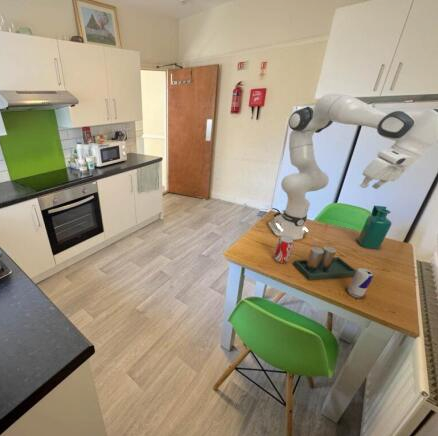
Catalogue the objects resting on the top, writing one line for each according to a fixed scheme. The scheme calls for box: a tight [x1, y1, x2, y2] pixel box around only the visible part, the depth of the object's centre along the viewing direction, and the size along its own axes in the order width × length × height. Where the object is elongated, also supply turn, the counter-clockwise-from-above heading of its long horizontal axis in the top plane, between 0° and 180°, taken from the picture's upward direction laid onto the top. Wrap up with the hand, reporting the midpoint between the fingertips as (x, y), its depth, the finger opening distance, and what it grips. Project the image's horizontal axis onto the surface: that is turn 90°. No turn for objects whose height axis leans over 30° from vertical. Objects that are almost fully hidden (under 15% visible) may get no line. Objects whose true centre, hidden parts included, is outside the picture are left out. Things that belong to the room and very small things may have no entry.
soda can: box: [273, 236, 295, 264], centre depth 122 cm, size 7×7×13 cm
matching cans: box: [305, 245, 337, 273], centre depth 114 cm, size 5×11×12 cm, turn 94°
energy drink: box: [346, 267, 375, 299], centre depth 101 cm, size 5×5×12 cm
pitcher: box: [357, 205, 392, 250], centre depth 130 cm, size 10×8×22 cm
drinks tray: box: [293, 256, 357, 281], centre depth 117 cm, size 12×24×2 cm, turn 94°
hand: (368, 187), depth 96 cm, fingers open, 8 cm apart
